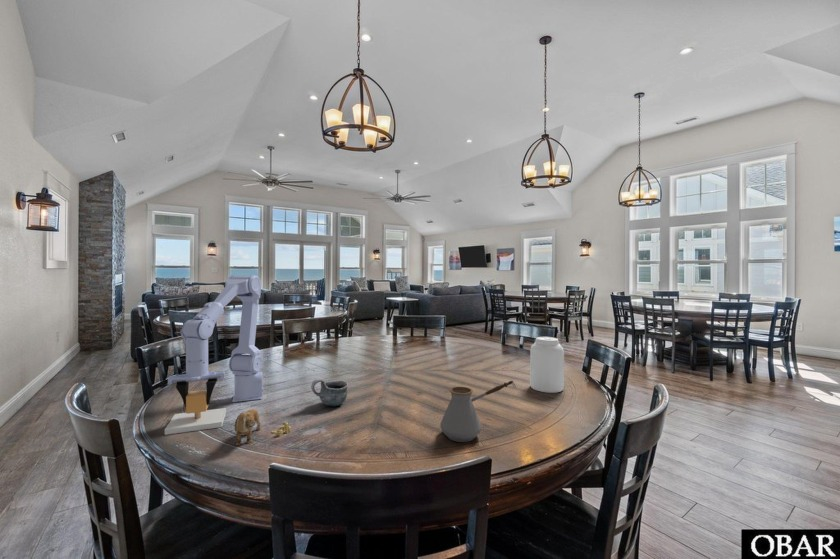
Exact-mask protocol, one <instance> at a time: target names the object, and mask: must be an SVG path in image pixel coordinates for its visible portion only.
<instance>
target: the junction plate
mask: <svg viewBox="0 0 840 559" xmlns="http://www.w3.org/2000/svg"><path fill="white" fill-rule="evenodd" d="M226 414H227V407H224V408H215V409H207V410H206V411H205V412H197V413H188V414H186V412H183V413H174V415H173V416H172V418H171V419H170V421H169V422H168V424H167V425H166V426H165V428H164V436H168V435H174V434H181V433H189V432H196V431H204V430H210V429H219V428H222V427H223V425H224V421H225V419H226Z"/></svg>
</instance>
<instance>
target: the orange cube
mask: <svg viewBox="0 0 840 559" xmlns="http://www.w3.org/2000/svg"><path fill="white" fill-rule="evenodd" d="M206 399H207V389H201V390H190V391H188V394H187V396H186V407H185V413H186V414H188V413H197V412H205V411H206V410H208V408H209V405H207V403H206Z"/></svg>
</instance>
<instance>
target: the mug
mask: <svg viewBox="0 0 840 559" xmlns="http://www.w3.org/2000/svg"><path fill="white" fill-rule="evenodd" d="M318 383H320V391H319V392H317V391H316V389H315V386H316V385H317V384H318ZM310 387H311V390H312V393H313V394H314V395H316V396H317V397H319V399H320V402H321V403H323V404H324V405H325V406H328V407H338V406H340V405H342V404H343V403H345V401H346V399H347V396H348V387H349V382H347V381H345V380H330V381H325V380H324V378H322V377H317V378H315V379H314V380H313V381H312V382H311V385H310Z"/></svg>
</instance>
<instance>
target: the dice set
mask: <svg viewBox="0 0 840 559" xmlns="http://www.w3.org/2000/svg"><path fill="white" fill-rule="evenodd" d="M284 431H285V434H289V433H291V431H292V426H289V423H288V422H283V423H282V425H280V426H279V430H272V431H271V433H272V434H276V437H278V438H279V437H282V436H283V432H284Z"/></svg>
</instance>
